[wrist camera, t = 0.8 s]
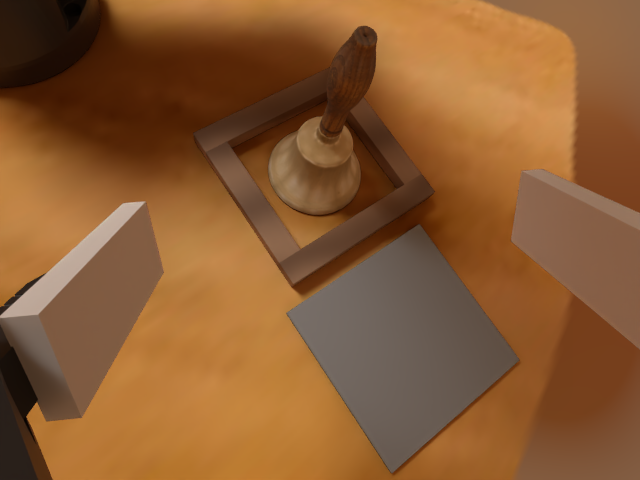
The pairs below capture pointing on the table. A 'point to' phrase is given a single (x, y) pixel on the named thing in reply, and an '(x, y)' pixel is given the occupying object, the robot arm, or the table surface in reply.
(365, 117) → the square frame
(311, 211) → the hand bell
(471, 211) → the table surface
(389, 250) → the rubber mat
